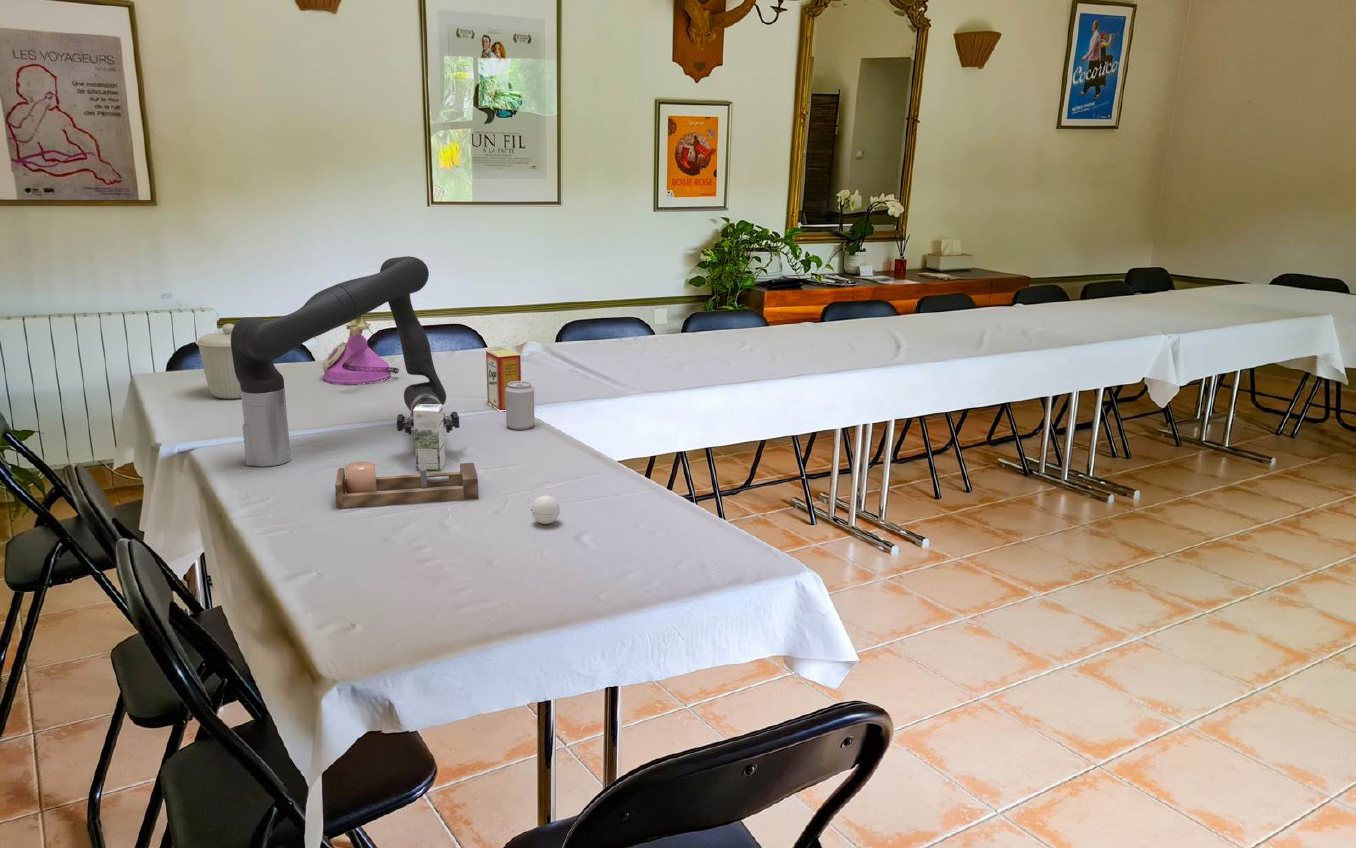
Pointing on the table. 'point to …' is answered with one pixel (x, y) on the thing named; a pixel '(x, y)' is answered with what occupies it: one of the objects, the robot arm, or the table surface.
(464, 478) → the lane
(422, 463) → the plate
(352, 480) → the peach rounded cylinder
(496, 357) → the baking soda box
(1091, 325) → the table surface
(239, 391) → the canister
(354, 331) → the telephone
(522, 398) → the can
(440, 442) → the syrup box
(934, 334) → the table surface
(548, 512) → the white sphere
